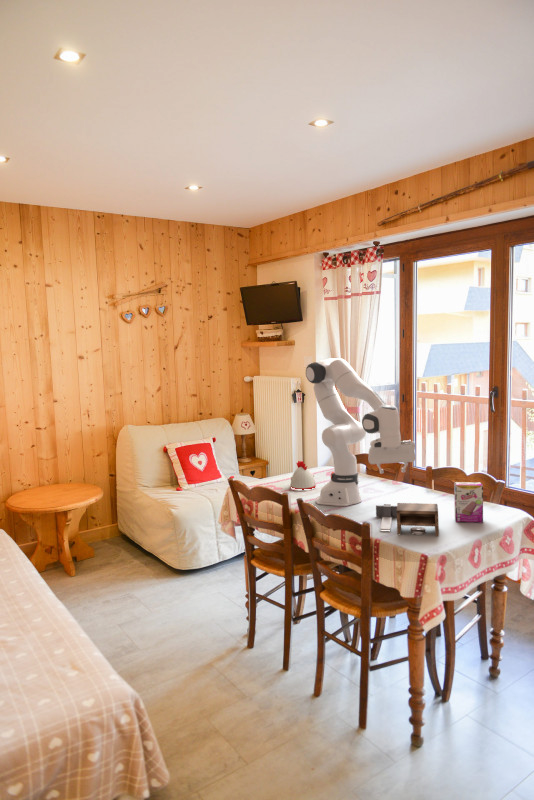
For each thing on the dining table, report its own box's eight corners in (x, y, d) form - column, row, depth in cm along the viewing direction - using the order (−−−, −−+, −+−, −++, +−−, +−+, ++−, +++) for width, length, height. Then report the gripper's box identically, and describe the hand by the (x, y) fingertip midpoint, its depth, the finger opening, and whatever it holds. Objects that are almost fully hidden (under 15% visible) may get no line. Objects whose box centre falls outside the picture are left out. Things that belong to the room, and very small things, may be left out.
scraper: (373, 531, 226) (372, 517, 225) (376, 516, 245) (375, 503, 244) (397, 532, 223) (397, 517, 222) (399, 516, 242) (398, 503, 241)
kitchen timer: (304, 483, 309) (303, 457, 308) (320, 487, 298) (319, 460, 296) (285, 488, 301) (284, 461, 300) (301, 492, 290) (299, 465, 288)
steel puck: (410, 535, 220) (410, 531, 220) (410, 530, 225) (410, 526, 225) (425, 535, 218) (425, 532, 218) (425, 530, 224) (425, 527, 224)
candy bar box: (455, 522, 230) (454, 484, 229) (454, 518, 235) (453, 481, 233) (483, 523, 228) (483, 484, 226) (482, 519, 232) (481, 481, 231)
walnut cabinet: (397, 534, 220) (396, 510, 219) (398, 526, 230) (397, 502, 229) (438, 536, 216) (438, 511, 215) (437, 527, 225) (437, 503, 224)
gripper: (413, 439, 241) (415, 469, 242) (366, 442, 243) (369, 472, 244) (415, 441, 234) (417, 472, 235) (368, 444, 237) (370, 475, 238)
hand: (392, 472), depth 240 cm, fingers open, 8 cm apart
